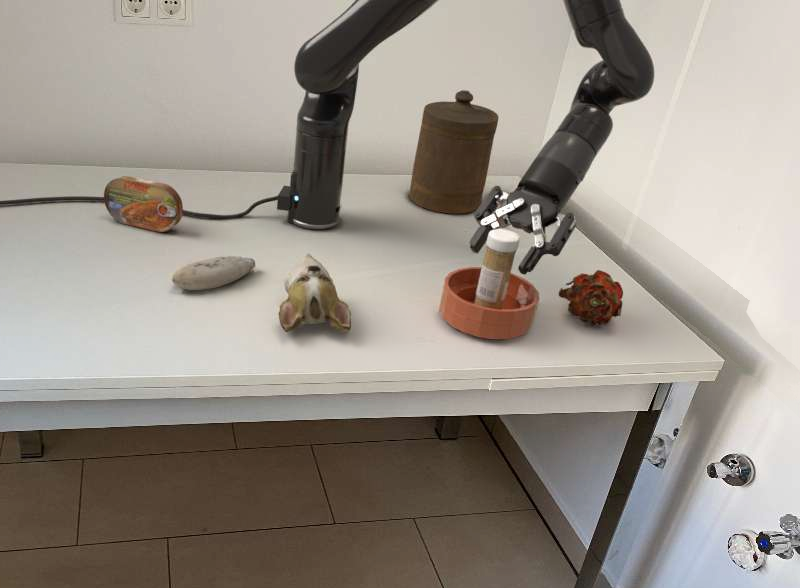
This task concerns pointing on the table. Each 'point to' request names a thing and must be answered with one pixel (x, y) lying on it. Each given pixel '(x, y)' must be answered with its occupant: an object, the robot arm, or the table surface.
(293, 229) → the table surface
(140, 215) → the tin
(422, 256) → the table surface
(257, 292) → the table surface
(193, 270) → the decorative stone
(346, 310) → the ceramic sculpture
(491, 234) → the sprinkles bottle
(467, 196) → the wooden container
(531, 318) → the bowl
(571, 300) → the dragon fruit
